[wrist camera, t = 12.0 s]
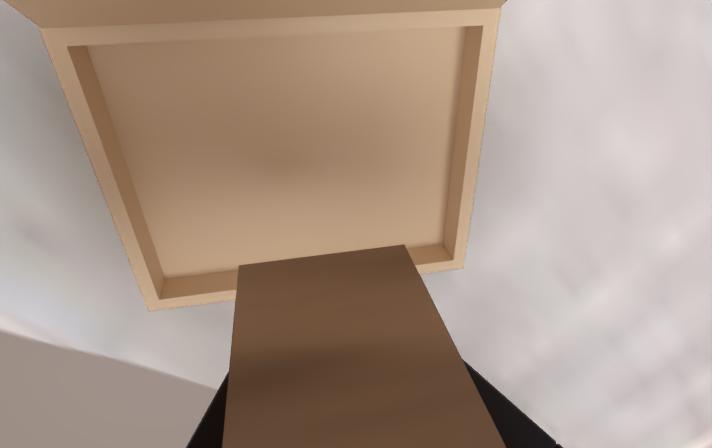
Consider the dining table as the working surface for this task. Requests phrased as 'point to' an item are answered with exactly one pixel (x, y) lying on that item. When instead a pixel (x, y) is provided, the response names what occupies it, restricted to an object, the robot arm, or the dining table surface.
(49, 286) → the dining table surface
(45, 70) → the dining table surface
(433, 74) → the box
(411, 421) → the walnut block
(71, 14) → the mailer lid
